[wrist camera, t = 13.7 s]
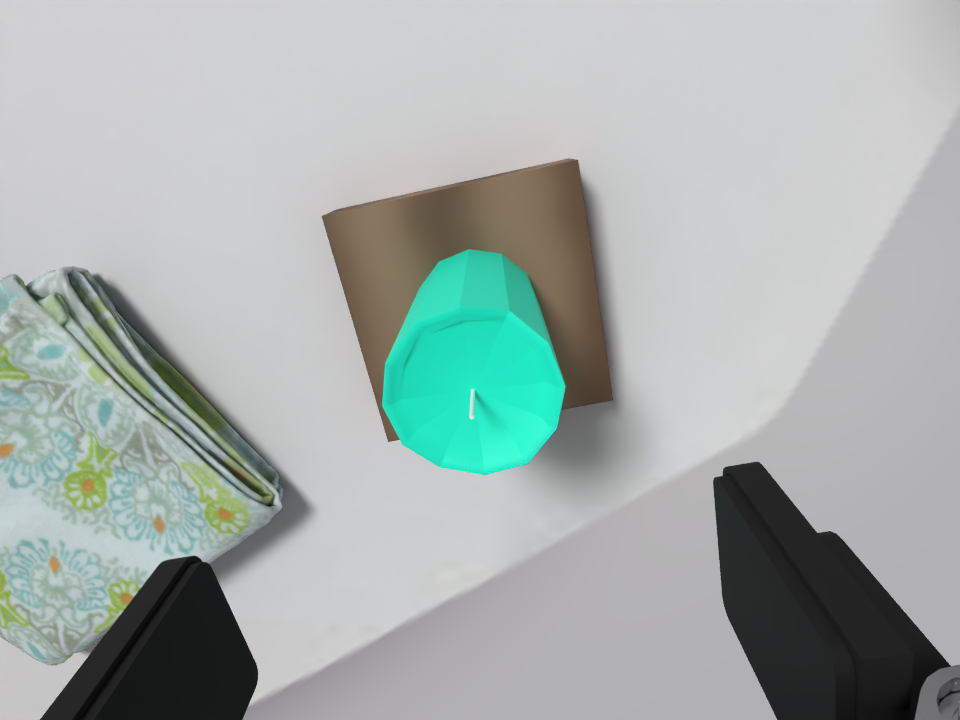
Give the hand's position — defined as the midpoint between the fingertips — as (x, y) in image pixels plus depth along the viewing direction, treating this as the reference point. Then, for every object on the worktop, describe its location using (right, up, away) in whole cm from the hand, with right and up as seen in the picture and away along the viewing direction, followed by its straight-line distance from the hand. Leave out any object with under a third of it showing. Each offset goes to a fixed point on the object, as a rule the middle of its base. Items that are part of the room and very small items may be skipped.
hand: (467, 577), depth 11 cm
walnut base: (0, +7, +21) cm, 22 cm away
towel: (-24, -2, +26) cm, 35 cm away
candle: (0, +6, +18) cm, 20 cm away
